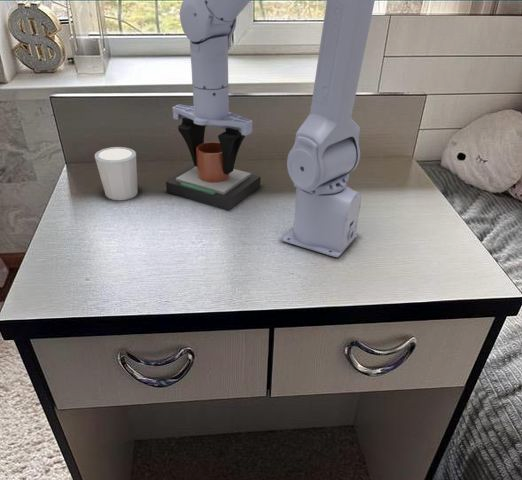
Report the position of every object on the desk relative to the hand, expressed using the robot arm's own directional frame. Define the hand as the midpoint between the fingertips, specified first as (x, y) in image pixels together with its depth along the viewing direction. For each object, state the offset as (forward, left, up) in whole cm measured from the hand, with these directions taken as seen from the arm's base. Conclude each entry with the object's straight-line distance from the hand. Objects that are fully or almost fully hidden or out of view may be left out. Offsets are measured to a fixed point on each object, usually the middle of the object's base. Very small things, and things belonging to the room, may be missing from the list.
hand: (213, 168), depth 92 cm
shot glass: (+13, +10, -4) cm, 17 cm away
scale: (0, 0, -4) cm, 4 cm away
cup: (0, 0, -1) cm, 1 cm away
